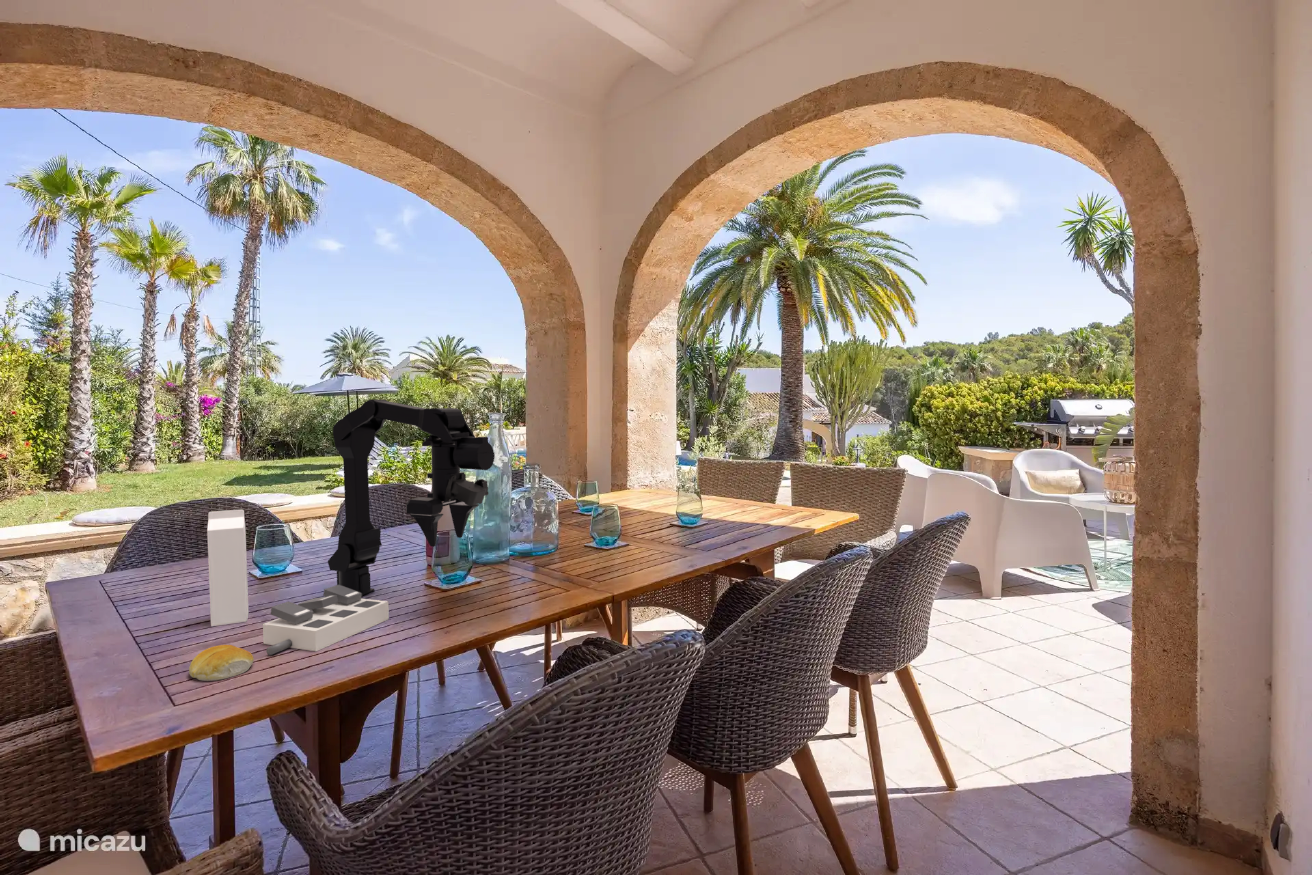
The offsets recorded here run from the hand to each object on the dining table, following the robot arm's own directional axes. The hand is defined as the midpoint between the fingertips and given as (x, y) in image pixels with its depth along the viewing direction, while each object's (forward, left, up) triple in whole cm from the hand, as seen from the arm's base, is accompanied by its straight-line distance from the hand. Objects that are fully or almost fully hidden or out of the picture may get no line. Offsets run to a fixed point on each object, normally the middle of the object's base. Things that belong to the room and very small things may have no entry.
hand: (446, 541), depth 138 cm
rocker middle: (-15, -20, -9) cm, 26 cm away
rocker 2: (-15, -14, -9) cm, 22 cm away
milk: (-36, -21, -14) cm, 44 cm away
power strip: (-12, -21, -14) cm, 28 cm away
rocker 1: (-15, -26, -9) cm, 31 cm away
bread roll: (-14, -40, -14) cm, 44 cm away
